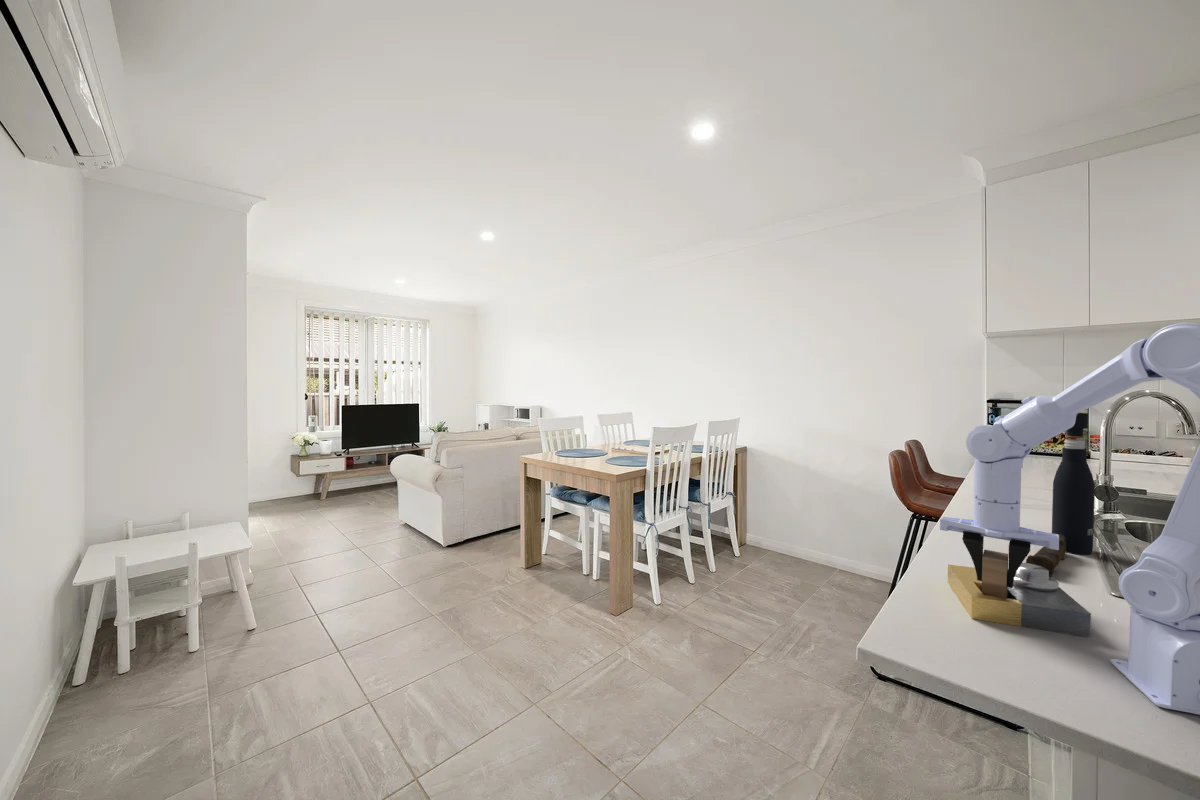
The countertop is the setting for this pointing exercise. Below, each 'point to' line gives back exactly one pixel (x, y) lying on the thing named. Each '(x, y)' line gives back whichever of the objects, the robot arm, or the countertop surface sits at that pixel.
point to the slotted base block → (1022, 601)
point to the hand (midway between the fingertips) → (994, 582)
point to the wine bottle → (1074, 493)
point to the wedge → (994, 573)
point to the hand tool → (1049, 556)
